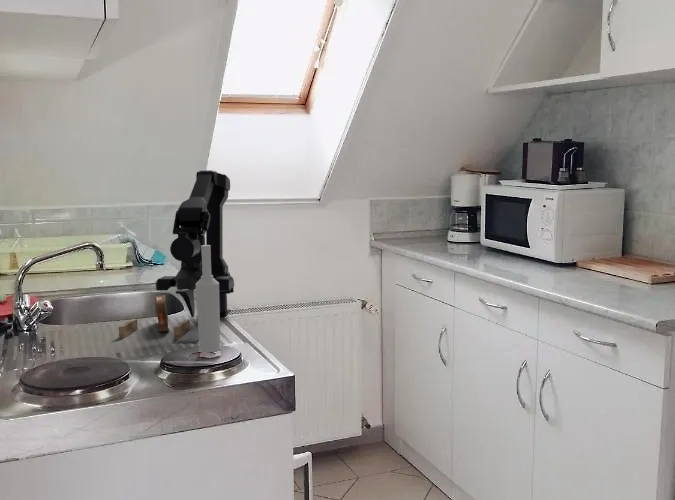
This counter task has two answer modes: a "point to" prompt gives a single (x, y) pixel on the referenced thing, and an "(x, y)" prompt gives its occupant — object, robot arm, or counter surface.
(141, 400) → the counter surface
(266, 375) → the counter surface
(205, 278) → the bottle
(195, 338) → the grey plank
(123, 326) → the tan wooden plank
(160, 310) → the tin
